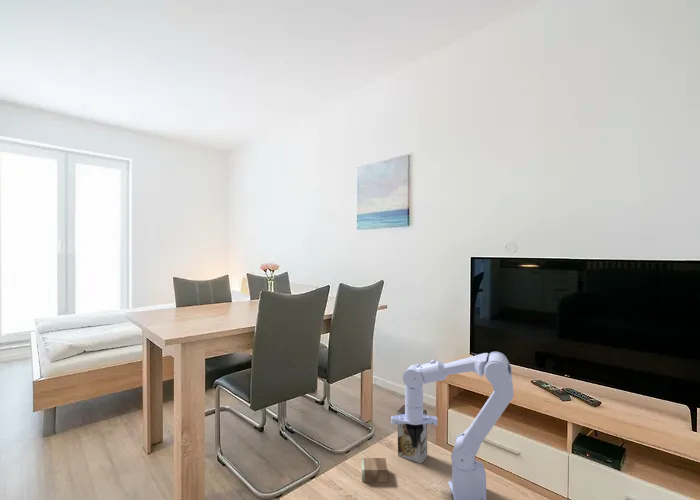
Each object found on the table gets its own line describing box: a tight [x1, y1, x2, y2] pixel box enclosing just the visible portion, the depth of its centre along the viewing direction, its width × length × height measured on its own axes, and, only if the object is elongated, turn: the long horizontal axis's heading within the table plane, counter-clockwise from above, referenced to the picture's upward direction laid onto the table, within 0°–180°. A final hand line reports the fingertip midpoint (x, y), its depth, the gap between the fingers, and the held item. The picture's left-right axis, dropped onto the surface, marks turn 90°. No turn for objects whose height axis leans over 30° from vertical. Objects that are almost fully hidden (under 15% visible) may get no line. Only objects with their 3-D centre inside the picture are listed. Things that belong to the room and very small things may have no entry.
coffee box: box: [396, 404, 428, 464], centre depth 122 cm, size 9×6×16 cm
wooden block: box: [361, 457, 388, 483], centre depth 111 cm, size 4×6×8 cm
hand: (414, 445), depth 110 cm, fingers closed
